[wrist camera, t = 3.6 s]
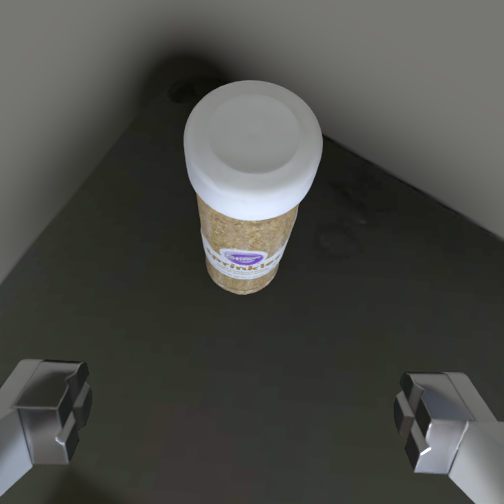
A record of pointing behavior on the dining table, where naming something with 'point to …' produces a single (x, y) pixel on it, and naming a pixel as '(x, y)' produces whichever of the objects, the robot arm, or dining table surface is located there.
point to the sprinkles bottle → (249, 177)
